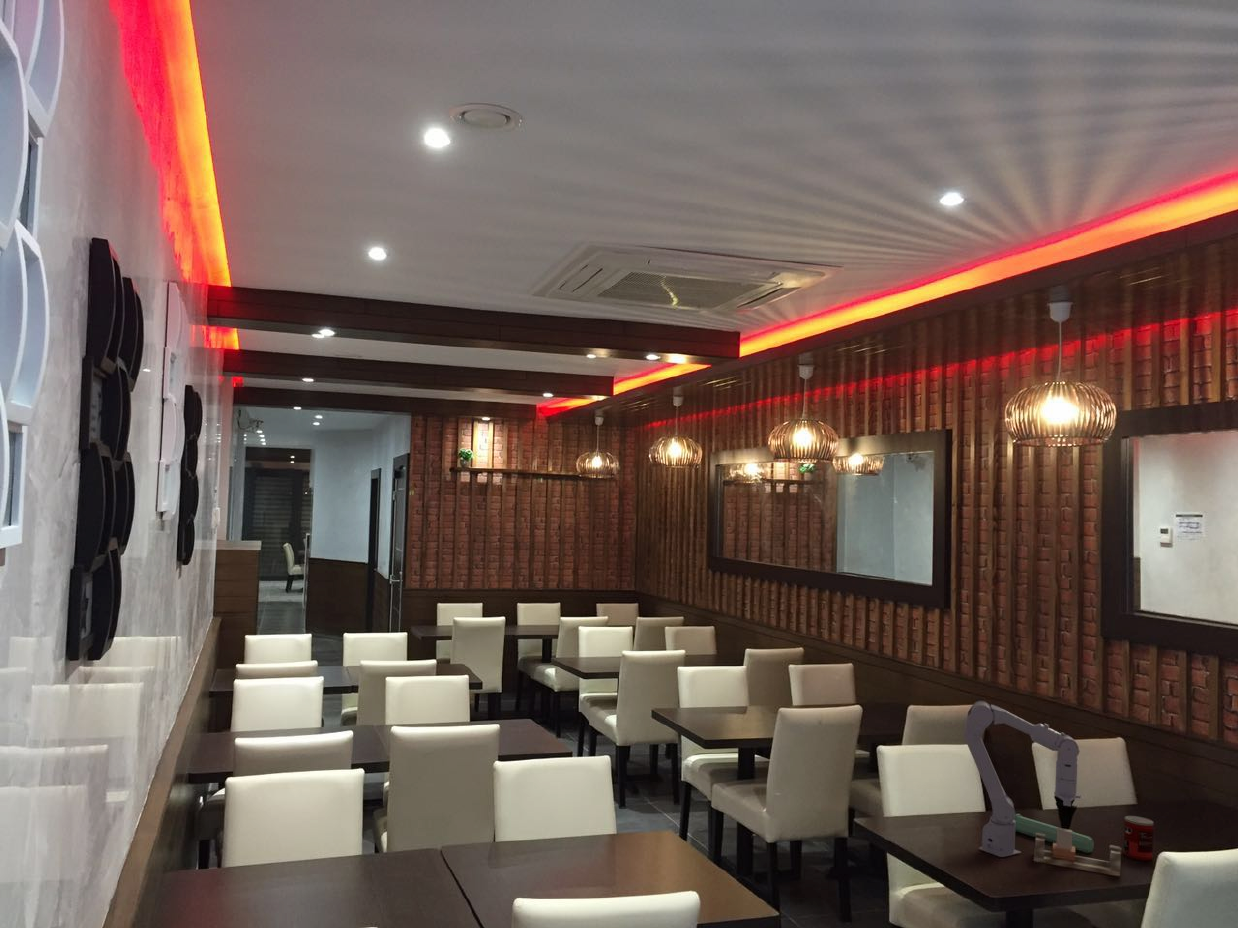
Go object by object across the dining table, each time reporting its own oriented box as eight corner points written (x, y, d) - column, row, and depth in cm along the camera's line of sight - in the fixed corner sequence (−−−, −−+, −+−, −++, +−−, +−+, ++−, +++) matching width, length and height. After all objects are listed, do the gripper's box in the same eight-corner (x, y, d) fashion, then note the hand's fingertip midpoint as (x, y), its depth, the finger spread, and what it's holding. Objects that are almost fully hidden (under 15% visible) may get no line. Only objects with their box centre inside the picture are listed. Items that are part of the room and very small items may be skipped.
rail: (1033, 860, 297) (1034, 837, 298) (1034, 853, 305) (1034, 830, 305) (1121, 876, 288) (1122, 852, 288) (1120, 868, 295) (1120, 844, 296)
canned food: (1126, 850, 314) (1127, 813, 314) (1155, 856, 309) (1156, 820, 309) (1120, 855, 308) (1121, 818, 308) (1149, 862, 303) (1150, 824, 303)
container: (1095, 832, 310) (1019, 809, 329) (1086, 842, 306) (1009, 819, 326) (1098, 849, 311) (1021, 825, 330) (1089, 860, 307) (1012, 835, 327)
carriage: (1052, 857, 296) (1053, 830, 297) (1052, 852, 302) (1053, 825, 302) (1075, 861, 294) (1075, 834, 294) (1074, 856, 299) (1075, 829, 300)
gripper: (1083, 785, 292) (1081, 833, 292) (1079, 774, 306) (1077, 820, 305) (1056, 782, 295) (1054, 829, 294) (1053, 771, 308) (1051, 816, 308)
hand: (1064, 824), depth 300 cm, fingers open, 7 cm apart
